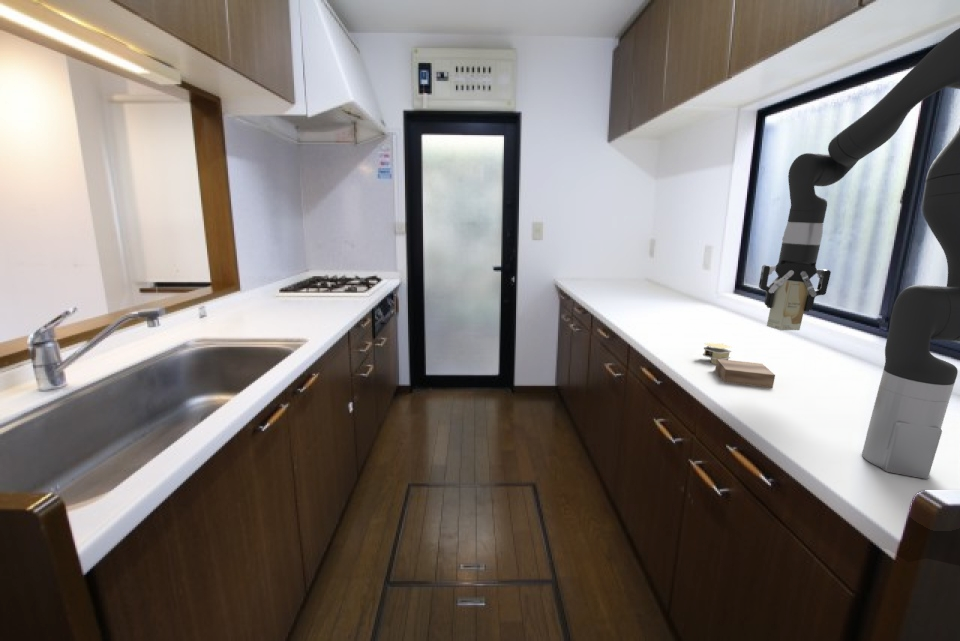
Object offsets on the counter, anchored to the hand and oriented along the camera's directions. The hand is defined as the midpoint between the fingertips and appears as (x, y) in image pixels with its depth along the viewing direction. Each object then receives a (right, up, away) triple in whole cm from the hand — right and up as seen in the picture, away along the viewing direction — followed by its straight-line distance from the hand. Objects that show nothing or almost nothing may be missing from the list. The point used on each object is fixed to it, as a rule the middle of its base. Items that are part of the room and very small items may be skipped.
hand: (787, 309), depth 112 cm
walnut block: (-2, -20, +16) cm, 25 cm away
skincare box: (0, -5, +1) cm, 5 cm away
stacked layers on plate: (-2, -16, +31) cm, 35 cm away
